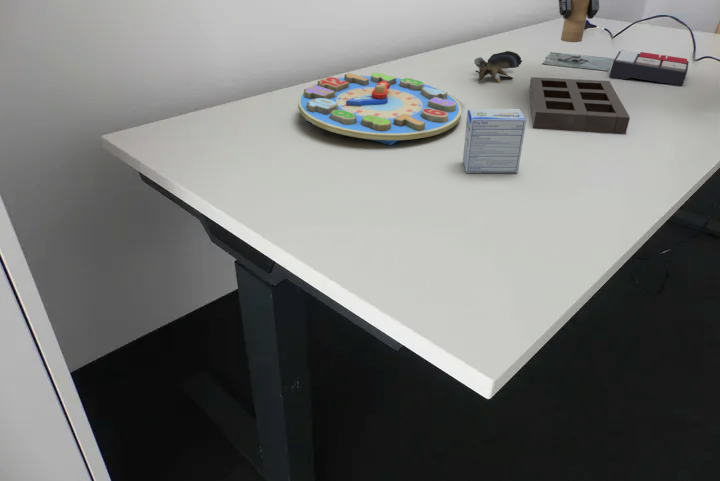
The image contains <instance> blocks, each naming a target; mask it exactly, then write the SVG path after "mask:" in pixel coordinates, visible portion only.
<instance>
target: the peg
mask: <svg viewBox="0 0 720 481" xmlns="http://www.w3.org/2000/svg"><path fill="white" fill-rule="evenodd" d="M589 3H590V0H571V14H570V16H569V17H568V19H563V25H562V30H561V36H560V40H561V42H565V43H581V42H582V41H583V38H584V33H585V26H586V22H587V19H588V17H587V13H588V8H589Z"/></svg>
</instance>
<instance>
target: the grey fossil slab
mask: <svg viewBox="0 0 720 481" xmlns="http://www.w3.org/2000/svg"><path fill="white" fill-rule="evenodd" d="M614 59H615V57H607V56H606V57H604V56H594V55H586V54H585V55H583V54H575V53H574V54H573V53H563V52H553V51H550V52H549V53H548V55H547V56H546V57H545V60H544V61H543V62H542V65H550V66H558V67H567V68H578V69H579V68H580V69H588V70H597V71H607V72H608V71H609V69H611V67H612V64H613V61H614Z"/></svg>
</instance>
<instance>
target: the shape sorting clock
mask: <svg viewBox="0 0 720 481" xmlns="http://www.w3.org/2000/svg"><path fill="white" fill-rule="evenodd" d="M297 109H298V111H299V113H300V114H301V116H302V117H303V118H304V119H305V120H306V122H307V121H308V122H311V123H312V124H311V123H310V124H311V125H314V126H316V127H318V128H321V129H323V130H325V131H328V132H331V133H334V134H335V133H336V134H338V135H342V136H347V137H351V138H358V139H365V140H370V141H373V142H377V143H381V144H385V145H389V146H392V145H394V144H395V143H398V142H400V141H408V140H416V139H424V138H430V137H434V136H436V135H437V136H438V135H439V134H443V133H445V132H447V131H449V130H450V129H452V128H454V127H455V126H457V124H458V123H459V121H460V120H461V117H462V112H463V109H462V105H461V103H460V102H459V101H458V99H457V98H455V97H454V96H453V95H452V94H450V93H449V92H447V91H445V90H443V89H441V88H439V87H436V86H434V85H431V84H427V83H424V81H421V80H418V79H414V78H411V77H410V78H409V77H396V76H392V75H389V76H387V75H386V74H385V73H380V72H373V73H371V74H370V75H357V74H354V73H351V72H347V73H345V74H344V76H340V77H333V76H327V77H324V78H321V79H318V80H317V82H316V83H313V84H311V85H310V86H308V87H306V88H304V89H303V91H302V92H301V93H300V94H299V95H298V98H297ZM308 122H307V123H308Z"/></svg>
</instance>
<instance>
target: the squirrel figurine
mask: <svg viewBox="0 0 720 481" xmlns="http://www.w3.org/2000/svg"><path fill="white" fill-rule="evenodd" d="M473 61H474V64H475V66H476V67H477V68H478V69H479V70H475V73H477V74H478V80H477V82H478V83H480V82H481V81H482V80H483V79H484V78H485V77H486V76H487V75H490V76H491V77H492V78H494V79H495V81H497V83H498V84H500V83H501V77H500V75H501V76H505V77H508V78H509V79H514V78H513V76H510V75H508V74H507V72H506V71H505V70H507V69H515V68H519V67H520V66H521V64H522V63H523V60H522V58H521V56H520V55H519V53H516V52H514V51H511V50H505V51H502V52H498V53H493V54H492V55H490V56H489V58H488V59H487V61H486V60H484V58H483V57H481V56H480V57H476V58H474V60H473Z"/></svg>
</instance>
